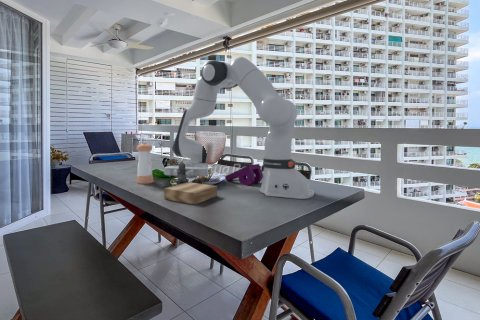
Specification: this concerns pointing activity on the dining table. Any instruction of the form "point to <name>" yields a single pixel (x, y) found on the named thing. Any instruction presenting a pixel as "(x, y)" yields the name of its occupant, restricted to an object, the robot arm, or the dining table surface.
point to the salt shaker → (144, 164)
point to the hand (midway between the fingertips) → (181, 173)
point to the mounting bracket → (248, 172)
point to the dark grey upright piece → (182, 175)
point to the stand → (190, 192)
